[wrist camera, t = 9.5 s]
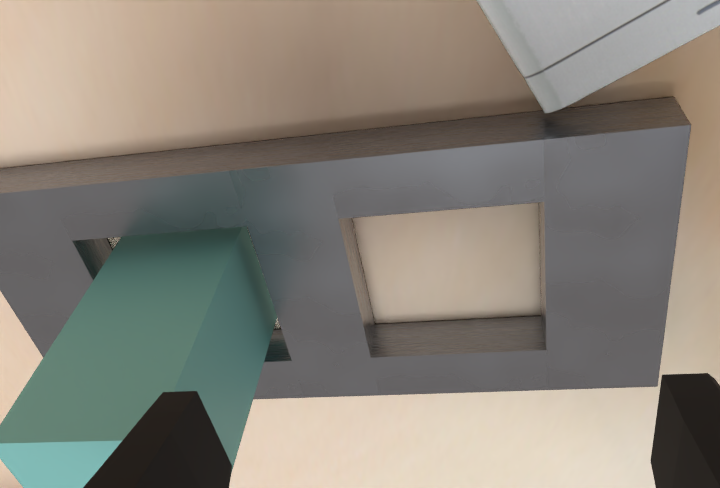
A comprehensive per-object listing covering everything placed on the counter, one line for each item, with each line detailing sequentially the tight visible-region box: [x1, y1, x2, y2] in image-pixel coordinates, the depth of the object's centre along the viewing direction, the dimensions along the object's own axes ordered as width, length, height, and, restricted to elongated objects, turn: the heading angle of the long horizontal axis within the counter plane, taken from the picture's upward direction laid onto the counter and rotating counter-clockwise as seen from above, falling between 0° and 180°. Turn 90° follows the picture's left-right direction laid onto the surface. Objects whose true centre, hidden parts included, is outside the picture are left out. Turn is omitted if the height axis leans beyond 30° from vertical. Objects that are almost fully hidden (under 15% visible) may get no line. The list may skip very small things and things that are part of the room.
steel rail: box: [0, 97, 691, 399], centre depth 21 cm, size 20×9×2 cm, turn 100°
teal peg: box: [0, 226, 277, 488], centre depth 19 cm, size 4×4×8 cm
